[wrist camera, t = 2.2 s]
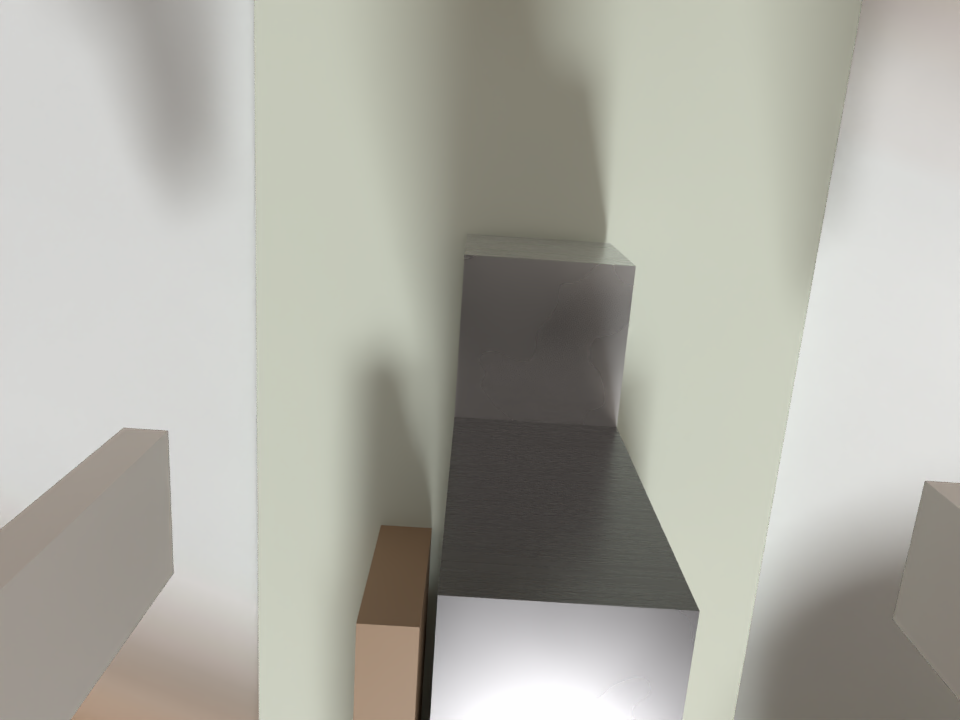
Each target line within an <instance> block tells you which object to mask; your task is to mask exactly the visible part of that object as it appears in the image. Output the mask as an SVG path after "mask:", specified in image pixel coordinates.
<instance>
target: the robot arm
mask: <svg viewBox="0 0 960 720" xmlns="http://www.w3.org/2000/svg"><path fill="white" fill-rule="evenodd" d="M173 573H174V569H173V543H172V517H171V491H170V466H169V440H168V431H165V430H150V429H135V428H123V429H121V430H120V431H119V432H118V433H117V434H115V435H114V436H113V437H112V438H111V439H109V440H108V441H107V442H106V443H105V444H103V445H102V446H101V447H100V448H98V449H97V450H96V451H95V452H94V453H92V454H91V455H90V456H89V457H88V458H86V459H85V460H84V461H83V462H81V463H80V464H79V465H78V466H77V467H75V468H74V469H73V470H72V471H71V472H69V473H68V474H67V475H66V476H65V477H63V478H62V479H61V480H60V481H58V482H57V483H56V484H55V485H54V486H52V487H51V488H50V489H49V490H48V491H46V492H45V493H44V494H43V495H42V496H40V497H39V498H38V499H37V500H35V501H34V502H33V503H32V504H31V505H29V506H28V507H27V508H26V509H25V510H23V511H22V512H21V513H20V514H19V515H17V516H16V517H15V518H14V519H12V520H11V521H10V522H9V523H8V524H6V525H5V526H4V527H3V528H2V529H0V720H71V718H72V717H73V715H74V714H75V713H76V711H77V710H78V708H79V707H80V706H81V704H82V703H83V701H84V700H85V698H86V697H87V696H88V694H89V693H90V691H91V690H92V688H93V687H94V686H95V684H96V683H97V681H98V680H99V679H100V677H101V676H102V674H103V673H104V671H105V670H106V669H107V667H108V666H109V664H110V663H111V661H112V660H113V659H114V657H115V656H116V654H117V653H118V652H119V650H120V649H121V647H122V646H123V644H124V643H125V642H126V640H127V639H128V637H129V636H130V634H131V633H132V632H133V630H134V629H135V627H136V626H137V625H138V623H139V622H140V620H141V619H142V617H143V616H144V615H145V613H146V612H147V610H148V609H149V607H150V606H151V605H152V603H153V602H154V600H155V599H156V598H157V596H158V595H159V593H160V592H161V590H162V589H163V588H164V586H165V585H166V583H167V582H168V580H169V579H170V578H171V576H172V575H173ZM893 621H894V622H895V623H896V624H897V626H898V627H899V628H900V629H901V630H902V632H903V633H904V634H905V635H906V636H907V638H908V639H909V640H910V641H911V643H912V644H913V645H914V646H915V647H916V649H917V650H918V651H919V652H920V653H921V655H922V656H923V657H924V658H925V660H926V661H927V662H928V663H929V664H930V666H931V667H932V668H933V669H934V670H935V672H936V673H937V674H938V675H939V677H940V678H941V679H942V680H943V681H944V683H945V684H946V685H947V686H948V687H949V689H950V690H951V691H952V692H953V694H954V695H955V696H956V697H957V698H958V700H959V701H960V483H950V482H935V481H925V483H924V487H923V491H922V496H921V500H920V504H919V509H918V513H917V517H916V521H915V526H914V530H913V534H912V539H911V543H910V547H909V551H908V556H907V560H906V564H905V569H904V573H903V577H902V581H901V586H900V590H899V594H898V598H897V603H896V607H895V611H894V616H893Z"/></svg>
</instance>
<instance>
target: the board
mask: <svg viewBox="0 0 960 720" xmlns="http://www.w3.org/2000/svg"><path fill="white" fill-rule="evenodd" d="M862 1H863V0H254V51H255V200H256V350H257V499H258V649H259V720H430V713H431V697H432V680H433V664H434V647H435V630H436V614H437V597H438V586H439V575H440V565H441V554H442V543H443V533H444V522H445V511H446V501H447V490H448V479H449V469H450V458H451V447H452V437H453V426H454V415H455V399H456V383H457V367H458V351H459V335H460V319H461V303H462V287H463V271H464V255H465V247H466V240H467V233H469V234H483V235H498V236H513V237H528V238H542V239H557V240H572V241H586V242H601V243H610V244H612V245H613V246H614V247H615V248H616V249H617V250H618V251H619V252H621V253H622V254H623V255H624V256H625V257H626V258H627V259H628V260H630V261H631V262H632V263H633V264H634V265H635V266H636V269H635V278H634V286H633V294H632V303H631V311H630V320H629V328H628V336H627V345H626V353H625V361H624V370H623V378H622V386H621V395H620V403H619V411H618V420H617V429H618V431H619V434H620V436H621V438H622V440H623V443H624V445H625V447H626V449H627V451H628V454H629V456H630V458H631V460H632V462H633V465H634V467H635V469H636V471H637V473H638V476H639V478H640V480H641V482H642V485H643V487H644V489H645V491H646V493H647V496H648V498H649V500H650V502H651V504H652V507H653V509H654V511H655V513H656V516H657V518H658V520H659V522H660V524H661V527H662V529H663V531H664V533H665V535H666V538H667V540H668V542H669V544H670V546H671V549H672V551H673V553H674V555H675V558H676V560H677V562H678V564H679V566H680V569H681V571H682V573H683V575H684V577H685V580H686V582H687V584H688V586H689V589H690V591H691V593H692V595H693V597H694V600H695V602H696V604H697V606H698V608H699V611H700V612H699V619H698V625H697V631H696V638H695V644H694V650H693V656H692V663H691V669H690V675H689V682H688V688H687V694H686V700H685V707H684V713H683V719H682V720H734V715H735V709H736V704H737V698H738V693H739V687H740V681H741V676H742V670H743V665H744V659H745V653H746V648H747V642H748V637H749V631H750V626H751V620H752V614H753V609H754V603H755V598H756V592H757V587H758V581H759V575H760V570H761V564H762V559H763V553H764V548H765V542H766V536H767V531H768V525H769V520H770V514H771V508H772V503H773V497H774V492H775V486H776V481H777V475H778V469H779V464H780V458H781V453H782V447H783V442H784V436H785V430H786V425H787V419H788V414H789V408H790V403H791V397H792V391H793V386H794V380H795V375H796V369H797V364H798V358H799V352H800V347H801V341H802V336H803V330H804V324H805V319H806V313H807V308H808V302H809V297H810V291H811V285H812V280H813V274H814V269H815V263H816V258H817V252H818V246H819V241H820V235H821V230H822V224H823V219H824V213H825V207H826V202H827V196H828V191H829V185H830V179H831V174H832V168H833V163H834V157H835V152H836V146H837V140H838V135H839V129H840V124H841V118H842V113H843V107H844V101H845V96H846V90H847V85H848V79H849V74H850V68H851V62H852V57H853V51H854V46H855V40H856V34H857V29H858V23H859V18H860V12H861V7H862Z"/></svg>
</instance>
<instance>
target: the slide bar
mask: <svg viewBox="0 0 960 720" xmlns="http://www.w3.org/2000/svg"><path fill="white" fill-rule="evenodd" d="M635 269H636V266H635V265H634V264H633V263H632V262H631V261H630V260H628V259H627V258H626V257H625V256H624V255H623V254H622V253H621V252H619V251H618V250H617V249H616V248H615V247H614V246H613V245H612V244H610V243H601V242H586V241H572V240H557V239H542V238H528V237H513V236H498V235H483V234H469V233H467V240H466V247H465V255H464V271H463V287H462V303H461V319H460V335H459V351H458V367H457V383H456V399H455V415H454V426H453V437H452V447H451V458H450V469H449V479H448V490H447V501H446V511H445V522H444V533H443V543H442V554H441V565H440V575H439V586H438V597H437V614H436V630H435V647H434V664H433V680H432V697H431V713H430V720H682V719H683V713H684V707H685V700H686V694H687V688H688V682H689V675H690V669H691V663H692V656H693V650H694V644H695V638H696V631H697V625H698V619H699V612H700V611H699V608H698V606H697V604H696V602H695V600H694V597H693V595H692V593H691V591H690V589H689V586H688V584H687V582H686V580H685V577H684V575H683V573H682V571H681V569H680V566H679V564H678V562H677V560H676V558H675V555H674V553H673V551H672V549H671V546H670V544H669V542H668V540H667V538H666V535H665V533H664V531H663V529H662V527H661V524H660V522H659V520H658V518H657V516H656V513H655V511H654V509H653V507H652V504H651V502H650V500H649V498H648V496H647V493H646V491H645V489H644V487H643V485H642V482H641V480H640V478H639V476H638V473H637V471H636V469H635V467H634V465H633V462H632V460H631V458H630V456H629V454H628V451H627V449H626V447H625V445H624V443H623V440H622V438H621V436H620V434H619V431H618V429H617V420H618V411H619V403H620V395H621V386H622V378H623V370H624V361H625V353H626V345H627V336H628V328H629V320H630V311H631V303H632V294H633V286H634V278H635Z"/></svg>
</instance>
